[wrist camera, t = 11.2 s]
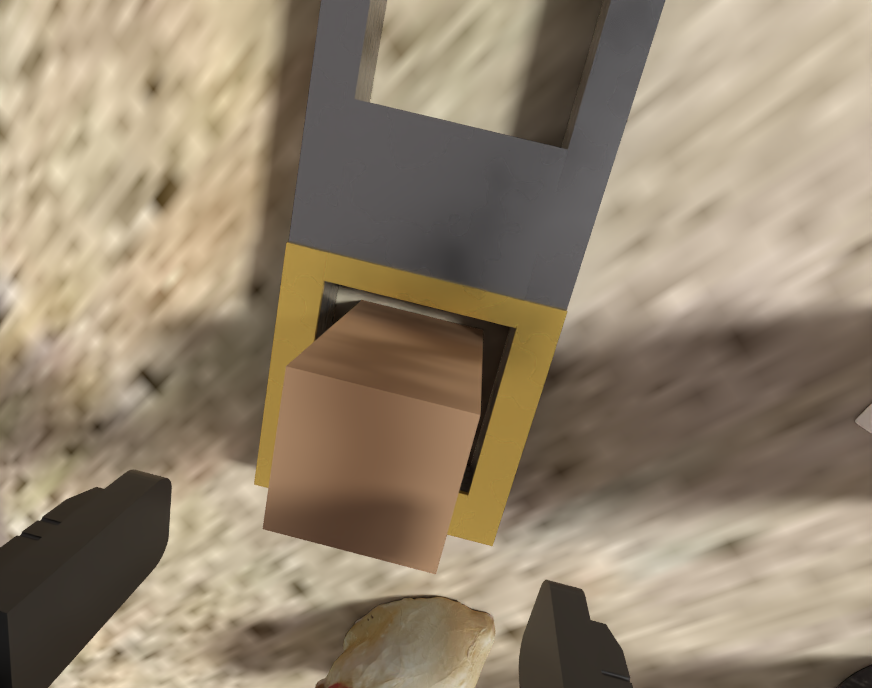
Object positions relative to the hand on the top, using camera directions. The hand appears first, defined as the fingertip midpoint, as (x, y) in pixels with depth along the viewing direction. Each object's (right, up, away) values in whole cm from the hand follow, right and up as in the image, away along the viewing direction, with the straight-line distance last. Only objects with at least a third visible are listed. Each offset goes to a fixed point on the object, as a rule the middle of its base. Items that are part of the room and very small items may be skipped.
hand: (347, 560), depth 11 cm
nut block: (+1, +3, +10) cm, 11 cm away
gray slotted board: (+2, +9, +8) cm, 13 cm away
